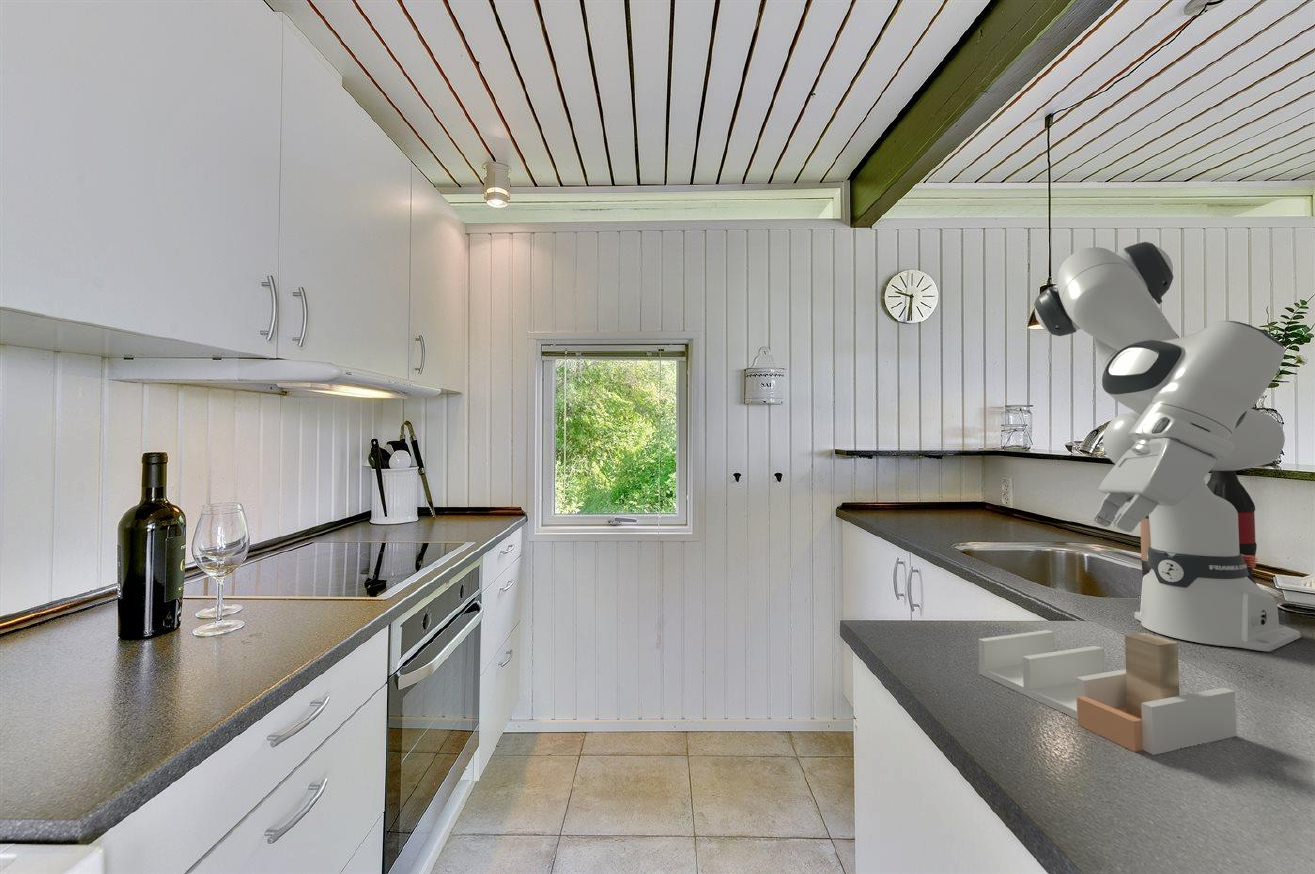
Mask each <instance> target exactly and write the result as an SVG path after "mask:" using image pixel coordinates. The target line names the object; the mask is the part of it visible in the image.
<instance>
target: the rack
mask: <svg viewBox="0 0 1315 874" xmlns="http://www.w3.org/2000/svg"><path fill="white" fill-rule="evenodd" d="M977 642H978V643H977V644H978V672H979V675H981V676H983V677H985V678H987V679H989V680H991V681H994V682H995V683H998V684H999V685H1002V686H1004V687H1007V688H1009V689H1010V690H1013V691H1015V692H1016V693H1019V694H1022V695H1024V696H1025V697H1028V698H1030V699H1032V700H1034V701H1037V702H1039V703H1041V704H1043V705H1045V706H1047V707H1049V708H1052V709H1053V710H1056V711H1058V712H1059V713H1060V712H1061V713H1062V712H1063V713H1062V714H1064V713H1065V714H1064V715H1066V714H1067V715H1066V716H1069V717H1071V718H1074V719H1076V720H1077V726H1078V727H1079V726H1080V727H1082V728H1084V729H1086V730H1088V731H1090V732H1092V733H1094V734H1096V735H1099V736H1101V737H1102V738H1105V739H1107V740H1109V741H1111V742H1112V743H1115V744H1117V745H1119V746H1121V747H1123V748H1125V749H1128V750H1130V751H1132V752H1134V753H1136V752H1141V751H1144V752H1146V753H1148V754H1150V755H1153V756H1156V755H1160V754H1163V753H1168V752H1172V751H1173V752H1174V751H1176V750H1177V749H1178V750H1181V749H1180V748H1182V749H1185V748H1184V747H1187V748H1189V747H1188V746H1191V747H1193V746H1192V745H1195V746H1197V745H1196V744H1200V743H1204V744H1209V743H1213V742H1216V741H1222V740H1226V739H1230V738H1234V737H1237V736H1238V735H1237V717H1236V715H1237V714H1236V712H1237V711H1236V691H1235V690H1232V689H1230V688H1227V687H1218V688H1214V689H1213V688H1212V689H1209V690H1208V689H1207V690H1203V691H1198V692H1197V691H1196V692H1193V693H1187V694H1182V695H1179V696H1176V697H1170V698H1165V699H1160V700H1154V701H1149V702H1144V703H1141V710H1142V718H1141V717H1138V716H1136V715H1133V714H1131V713H1129V712H1127V684H1126V668H1123V669H1117V670H1112V671H1106V672H1105V660H1104V659H1105V658H1104V656H1105V655H1104V648H1103V647H1101V646H1098V645H1092V646H1084V647H1077V648H1071V649H1064V650H1057V651H1055V632H1054V631H1052V630H1048V629H1046V630H1045V629H1043V630H1037V631H1031V632H1021V633H1015V634H1014V633H1013V634H1007V635H999V636H991V637H985V638H984V637H983V638H978V641H977ZM1200 745H1201V744H1200ZM1178 750H1177V751H1178Z"/></svg>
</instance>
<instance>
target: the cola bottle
mask: <svg viewBox="0 0 1315 874" xmlns="http://www.w3.org/2000/svg"><path fill="white" fill-rule="evenodd" d="M1206 485H1207V486H1208V488H1209V489H1210V490H1211V491H1212V493H1213V494H1215V495H1217V496H1219V497H1221V498H1223V499H1225V500H1227V501H1228V502H1230V503H1231V504H1232V505H1233V506H1234V507H1235V509H1236V510H1237V513H1238V529H1239V554H1243V555H1252V556H1255V557H1256V554H1257V545H1258V544H1257V541H1256V523H1255V522H1256V518H1255V511H1256V505H1255V503H1254V501H1253V499H1252V497H1251V495H1250V494H1249V492H1248V491H1247V490H1246V488H1245V487H1244V486H1243V485H1242V483H1241V482H1240V480H1239V478H1238V475H1237V471H1211V473H1210V477H1209V479H1208V481H1207V483H1206ZM1253 569H1254V568H1253V567H1248V566H1247V570H1248V573H1249V576H1247V577H1248V578H1249V579H1250V580H1251V581H1252V582H1254V583H1255V584H1256V585H1257V583H1256V581H1255V578H1254V575H1253V572H1254V571H1253ZM1257 586H1258V585H1257Z"/></svg>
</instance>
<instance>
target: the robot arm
mask: <svg viewBox="0 0 1315 874" xmlns="http://www.w3.org/2000/svg"><path fill="white" fill-rule="evenodd" d="M1173 273H1174V266H1173V261H1172V259H1171V258H1170V256H1169V255H1168V253H1166V251H1164V250H1163V249H1162V248H1160V247H1159V246H1156V245H1155V244H1154V243H1152V242H1148V241H1143V242H1138V243H1136V244H1132V245H1129V246H1127V247H1124V248H1123V250H1121V251H1118V252H1116V253H1115V252H1114V251H1113V250H1110V249H1108V248H1105V247H1099V246H1097V247H1096V246H1095V247H1086V248H1083V249H1080V250H1078V251H1075V252H1074V253H1072V254H1071V255H1070V256H1068V257H1067V258H1066V259H1065V260H1064V261H1063V263H1062V264H1061V265H1060V267H1059V269H1058V273H1057V278H1056V279H1057V283H1056V284H1055V285H1053V286H1051V287H1050V286H1049V287H1048V288H1046V289H1045V290H1044V291H1042V292H1041V293H1040V294H1039V295H1037V297H1036V299H1035V302H1034V303H1033V305H1034V315H1035V318H1036V320H1037V322H1038V325H1040V326H1041V327H1042V328H1043V329H1044V330H1046V331H1047V332H1049V333H1050V334H1051V335H1053V336H1057V337H1063V336H1067V335H1071V334H1074V333H1077V331H1079V330H1082V331H1084V332H1085V333H1087V334H1088V335H1090V336H1092V337H1093V340H1094V345H1095V349H1096V352H1097V355H1098V357H1099V360H1100V362H1101V363H1102V366H1103V368H1104V370H1103V373H1102V376H1101V377H1102V378H1101V385H1102V389H1103V391H1104V392H1105V393H1107V394H1108V395H1109V396H1110V397H1112V398H1113V399H1114V400H1115V401H1117V402H1118V403H1120V404H1122V405H1123V406H1125V407H1127V408H1128V409H1130V410H1131V411H1132V412H1128V413H1124V414H1120V415H1118V416H1115V417H1114V418H1112V419H1111V421H1110V422H1109V423H1108V424H1107V426H1106V428H1105V429H1104V431H1103V435H1102V446H1103V449H1104V452H1105V454H1106V456H1107V457H1108V458H1109V460H1110V461H1111V462H1112V463H1113V464H1115V465H1114V466H1113V467H1112V468H1111V469H1110V471H1109V472H1108V473H1107V475H1106V476H1105V477H1104V479H1103V480H1102V481H1101V483H1100V485H1099V487H1098V490H1099V492H1100V493H1103V494H1104V495H1105V496H1104V497H1103V499H1102V501H1101V504H1100V505H1099V509H1098V511H1097V512H1096V514H1095V515H1094V517H1093V518H1092V520H1093V521H1092V522H1094V523H1096V524H1098V525H1100V526H1102V527H1107V528H1108V527H1110V526H1111V524H1112V523H1113V525H1114V527H1116V528H1117V529H1119V530H1121V531H1123V532H1126V533H1132V532H1134V530H1135V529H1136V527H1137V526H1138V525H1139V524H1140V523H1141V521H1142V520H1143V519H1144V518H1145V517H1147V516H1148V515H1149V524H1150V537H1151V547H1149V548H1148V554H1147V559H1148V566H1149V567H1150V568H1151V570H1150V572H1149V573H1148V574H1146V575H1145V576H1144V577H1143V576H1142V584H1141V585H1142V586H1141V599H1140V611H1134V615H1133V616H1134V619H1136V620H1138V621H1140V624H1141V626H1142V627H1144V628H1146V629H1147V630H1149V631H1152V632H1155V633H1156V634H1159V635H1164V636H1167V637H1170V638H1175V639H1178V640H1183V641H1189V642H1193V643H1194V642H1195V643H1199V644H1204V645H1211V646H1212V645H1213V646H1220V647H1221V646H1222V647H1234V648H1240V649H1241V648H1242V649H1247V650H1253V651H1259V652H1260V651H1262V652H1272V651H1274V650H1276V649H1279V648H1280V647H1283V646H1285V645H1288V644H1290V643H1292V642H1294V641H1295V640H1298V639H1300V638H1302V635H1301V631H1299V630H1297V629H1295V628H1292V627H1288V626H1287V625H1282V624H1280V618H1279V608H1278V604H1277V600H1275V598H1274V597H1272V596H1271V595H1270V594H1268V593H1267V592H1266V591H1264V590H1263V589H1262V588H1261V587H1260V586H1258V585H1256V584H1257V583H1256V584H1255V583H1254V582H1252V581H1251V580H1250V579H1249V578H1248V577H1247V576H1249V573H1248V570H1247V566H1248V567H1253V569H1254V568H1256V566H1257V564H1258V560H1257V559H1258V558H1256V555H1255V556H1252V555H1243V554H1239V529H1238V513H1237V510H1236V509H1235V507H1234V506H1233V505H1232V504H1231V503H1230V502H1228V501H1227V500H1225V499H1223V498H1221V497H1219V496H1217V495H1215V494H1213V493H1212V491H1211V490H1210V489H1209V488H1208V486H1207V485H1206V484H1207V483H1206V481H1205V477H1206V476H1207V475H1208V474H1209V472H1212V471H1235V472H1237V471H1241V470H1246V469H1252V468H1257V467H1261V466H1265V465H1268V464H1270V463H1272V462H1274V461H1275V460H1276V459H1277V458H1278V457H1279V456H1280V454H1281V453H1282V451H1283V449H1284V446H1285V441H1286V437H1285V432H1284V430H1283V427H1282V426H1281V424H1280V422H1279V421H1278V420H1277V419H1275V417H1273V416H1272V415H1270V414H1269V413H1265V412H1263V411H1259V410H1256V409H1254V408H1253V407H1254V406H1255V405H1256V403H1257V402H1258V401H1259V400H1260V398H1261V397H1262V396H1263V395H1264V393H1265V391H1267V388H1268V387H1269V386H1270V385H1271V383H1272V381H1273V379H1275V376H1276V374H1277V373H1278V371H1279V369H1280V368H1281V365H1282V363H1283V361H1284V357H1285V352H1286V348H1285V346H1284V345H1283V343H1282V342H1281V341H1279V340H1278V339H1277V338H1276V337H1274V336H1273V335H1271V334H1270V333H1268V332H1266V331H1265V330H1262V329H1260V328H1258V327H1255V326H1253V325H1250V324H1248V323H1245V322H1244V323H1243V322H1240V321H1235V320H1219V321H1215V322H1213V323H1211V324H1210V325H1208V326H1206V327H1205V328H1202V329H1201V330H1199V331H1198V332H1195V333H1192V334H1190V335H1185V336H1181V337H1179V334H1177V332H1176V331H1175V330H1174V329H1173V326H1171V323H1170V322H1169V321H1168V319H1167V318H1166V316H1165V315H1164V313H1163V311H1162V310H1161V309H1160V307H1159V305H1161V304H1162V303H1163V300H1162V298H1163V296H1164V295H1165V294H1166V293H1167V292H1168V291H1169V289H1170V288H1171V286H1172V283H1173V280H1174V274H1173ZM1126 503H1129V504H1128V506H1127V507H1126V508H1125V510H1123V512H1122V513H1119V514H1118V512H1119V510H1120V509H1121V508H1123V507H1124V506H1125V504H1126ZM1117 514H1118V516H1117V517H1115V516H1116V515H1117Z"/></svg>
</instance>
